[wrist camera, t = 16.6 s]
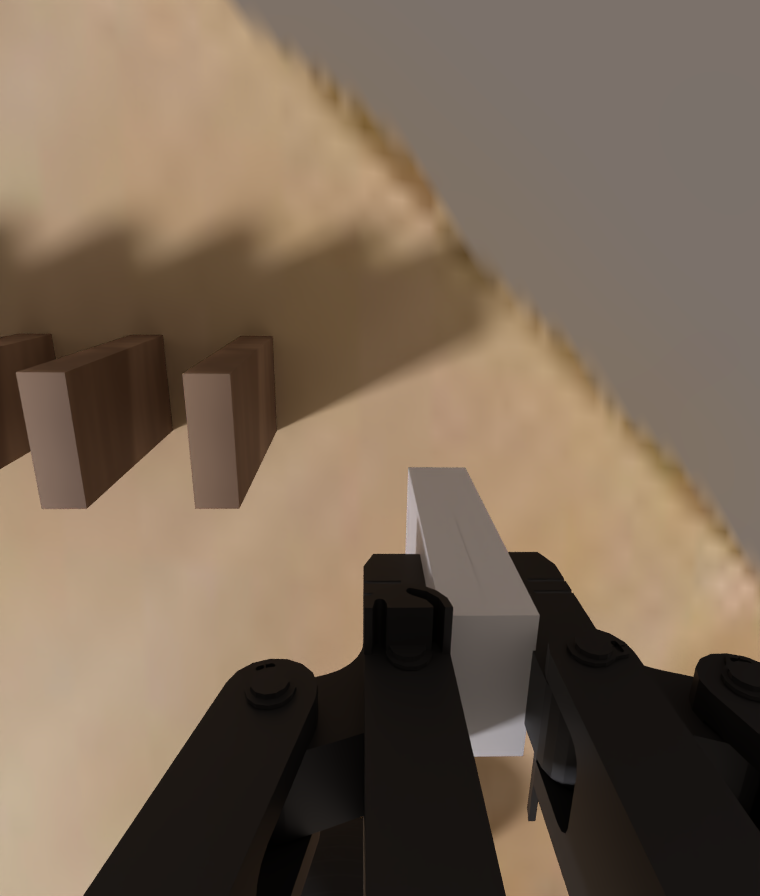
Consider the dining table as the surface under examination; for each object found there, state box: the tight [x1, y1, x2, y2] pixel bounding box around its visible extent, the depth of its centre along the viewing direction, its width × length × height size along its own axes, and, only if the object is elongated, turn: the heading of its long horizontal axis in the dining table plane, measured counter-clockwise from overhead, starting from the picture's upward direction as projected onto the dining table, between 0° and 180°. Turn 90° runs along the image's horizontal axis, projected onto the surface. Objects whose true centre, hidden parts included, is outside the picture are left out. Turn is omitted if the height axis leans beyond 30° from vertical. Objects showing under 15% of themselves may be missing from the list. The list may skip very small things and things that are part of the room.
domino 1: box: [182, 336, 277, 509], centre depth 25 cm, size 2×5×10 cm, turn 179°
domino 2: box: [16, 335, 173, 509], centre depth 24 cm, size 2×5×10 cm, turn 179°
